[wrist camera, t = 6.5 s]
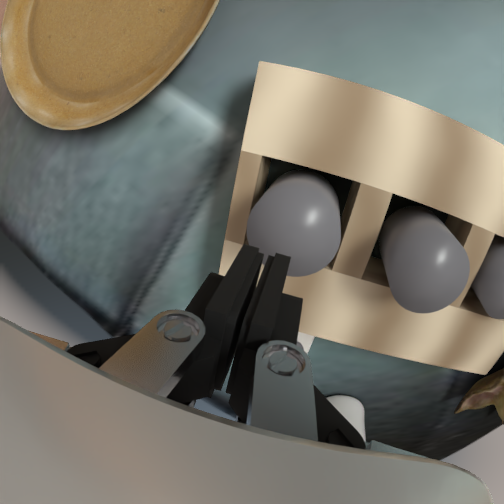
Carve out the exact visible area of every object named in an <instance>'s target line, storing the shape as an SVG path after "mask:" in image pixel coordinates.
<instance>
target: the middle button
mask: <svg viewBox="0 0 504 504" xmlns="http://www.w3.org/2000/svg"><path fill="white" fill-rule="evenodd" d="M379 249H380V253H381V257H382V260H383V264H384V267H385V271H386V274H387V278H388V282H389V286H390V290H391V292H392V295H393V297H394V299H395V300H396V301H397V303H398V304H399V305H400V306H402V307H403V308H405V309H406V310H408V311H411V312H415V313H422V314H423V313H432V312H436V311H439V310H441V309H443V308H445V307H447V306H448V305H450V304H451V303H452V302H454V301H455V300H456V299H457V298H458V297H459V295H460V294H461V293H462V291H463V290H464V288H465V286H466V284H467V281H468V278H469V273H470V263H469V258H468V255H467V253H466V251H465V249H464V248H463V246H462V245H461V244H460V243H459V241H458V240H457V239H456V238H455V237H454V235H453V234H452V233H451V232H450V231H449V229H448V228H447V227H446V226H445V225H444V224H443V222H442V221H441V220H440V219H439V218H438V217H437V216H436V215H435V214H434V213H433V212H432V211H430V210H429V209H427V208H424V207H421V206H407V207H404V208H401V209H399V210H397V211H395V212H394V213H393V214H391V215H390V216H389V217H388V218H387V220H386V221H385V222H384V224H383V226H382V228H381V230H380V234H379Z"/></svg>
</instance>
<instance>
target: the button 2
mask: <svg viewBox="0 0 504 504" xmlns="http://www.w3.org/2000/svg"><path fill="white" fill-rule="evenodd" d="M471 288H472V289H473V291H474V292H475V294H476V296H477V297H478V299H479V301H480V302H481V304H482V306H483V307H484V309H485V311H486V312H487V314H488V315H489V316H491V317H492V318H495V319H504V237H502V236H499V235H497V234H495V235H494V238H493V240H492V242H491V245H490V247H489V249H488V251H487V254H486V256H485V258H484V260H483V262H482V264H481V266H480V268H479V270H478V272H477V274H476V276H475V278H474V280H473V282H472V284H471Z"/></svg>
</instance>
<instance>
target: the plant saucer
mask: <svg viewBox="0 0 504 504" xmlns="http://www.w3.org/2000/svg"><path fill="white" fill-rule="evenodd" d="M219 1H220V0H8V3H7V6H6V9H5V13H4V18H3V23H2V30H1V41H0V53H1V64H2V69H3V74H4V78H5V81H6V84H7V87H8V89H9V91H10V93H11V95H12V97H13V99H14V100H15V102H16V103H17V105H18V106H19V107H20V108H21V110H22V111H23V112H24V113H25V114H26V115H27V116H29V117H30V118H31V119H33V120H34V121H36V122H38V123H39V124H41V125H44V126H46V127H49V128H52V129H59V130H78V129H83V128H88V127H92V126H95V125H98V124H101V123H103V122H105V121H108V120H110V119H112V118H114V117H116V116H118V115H120V114H121V113H123V112H124V111H126V110H128V109H129V108H131V107H132V106H134V105H135V104H136V103H138V102H139V101H140V100H142V99H143V98H144V97H145V96H147V95H148V94H149V93H150V92H151V91H153V90H154V89H155V88H156V87H157V86H158V85H159V84H160V83H161V82H163V81H164V80H165V79H166V78H167V77H168V76H169V74H170V73H171V72H172V71H173V70H174V69H175V68H176V67H177V66H178V65H179V64H180V62H181V61H182V60H183V59H184V58H185V56H186V55H187V54H188V53H189V51H190V50H191V49H192V47H193V46H194V45H195V43H196V42H197V40H198V39H199V38H200V36H201V35H202V33H203V31H204V30H205V28H206V27H207V25H208V23H209V21H210V19H211V18H212V16H213V14H214V12H215V10H216V8H217V6H218V3H219Z"/></svg>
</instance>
